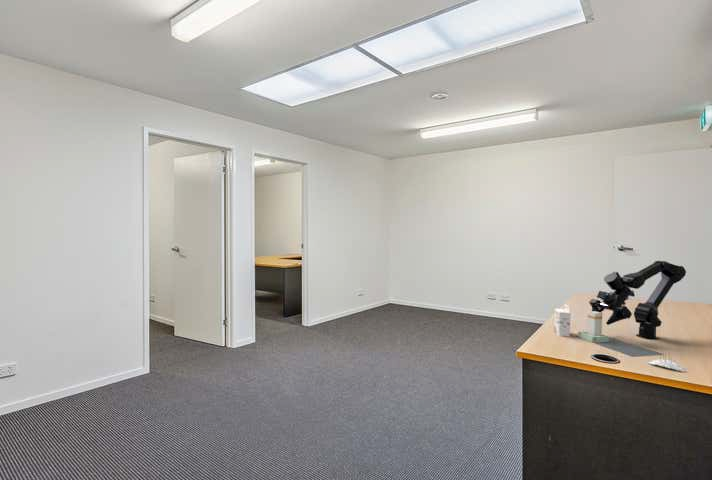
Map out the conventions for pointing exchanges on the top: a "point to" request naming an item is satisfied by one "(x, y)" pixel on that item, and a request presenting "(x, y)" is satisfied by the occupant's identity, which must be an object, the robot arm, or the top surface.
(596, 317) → the white rectangular container
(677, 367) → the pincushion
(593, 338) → the holder
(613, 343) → the mat
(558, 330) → the ink cartridge box
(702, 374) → the top surface
